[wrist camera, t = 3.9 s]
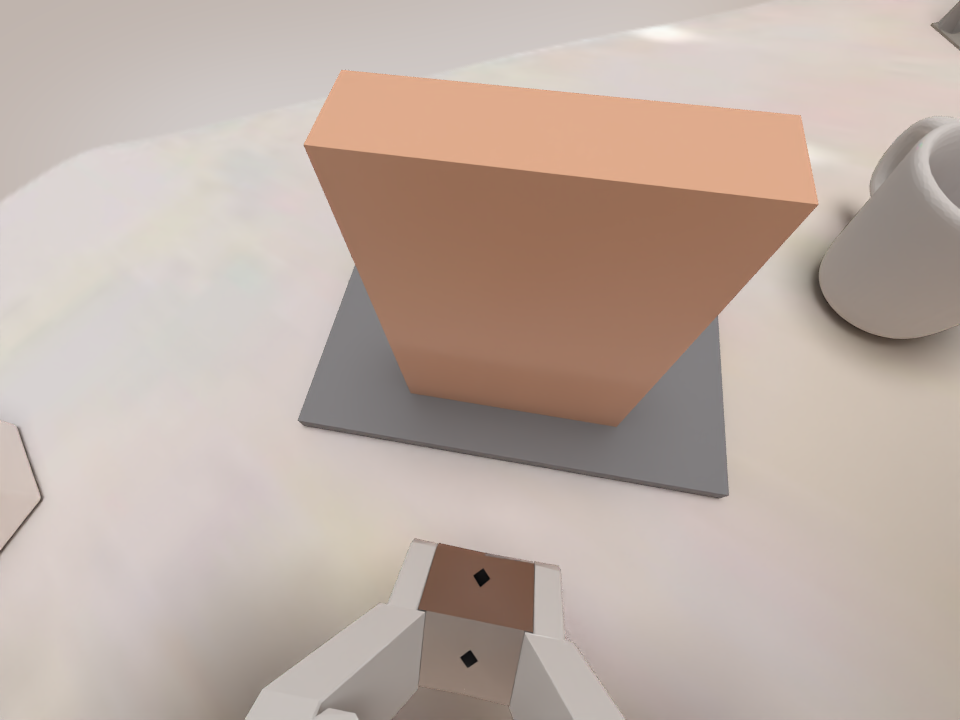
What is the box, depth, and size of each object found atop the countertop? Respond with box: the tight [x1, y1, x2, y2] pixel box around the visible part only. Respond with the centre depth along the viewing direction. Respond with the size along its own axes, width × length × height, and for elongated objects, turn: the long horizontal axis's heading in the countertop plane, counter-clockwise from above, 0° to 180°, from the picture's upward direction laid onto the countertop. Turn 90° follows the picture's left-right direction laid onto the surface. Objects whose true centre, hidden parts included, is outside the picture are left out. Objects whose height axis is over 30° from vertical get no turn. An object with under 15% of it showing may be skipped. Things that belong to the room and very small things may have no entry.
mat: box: [298, 265, 729, 498], centre depth 25 cm, size 20×21×1 cm
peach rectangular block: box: [304, 70, 818, 427], centre depth 15 cm, size 10×3×14 cm, turn 80°
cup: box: [819, 116, 960, 339], centre depth 22 cm, size 11×8×8 cm
